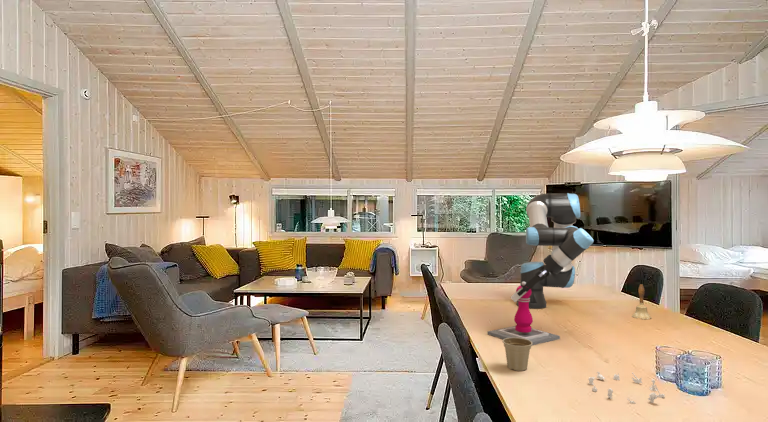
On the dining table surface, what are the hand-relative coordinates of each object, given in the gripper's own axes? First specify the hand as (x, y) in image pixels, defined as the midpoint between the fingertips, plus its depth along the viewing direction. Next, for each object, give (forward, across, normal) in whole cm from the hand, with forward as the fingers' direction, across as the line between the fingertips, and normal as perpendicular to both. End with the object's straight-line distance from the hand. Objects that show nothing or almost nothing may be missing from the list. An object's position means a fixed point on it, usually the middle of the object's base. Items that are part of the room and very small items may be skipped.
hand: (514, 298), depth 190 cm
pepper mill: (+7, 0, -12) cm, 14 cm away
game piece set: (-17, -43, -40) cm, 61 cm away
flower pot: (+5, -39, -17) cm, 43 cm away
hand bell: (-23, +62, -45) cm, 80 cm away
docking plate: (+8, 0, -13) cm, 16 cm away
